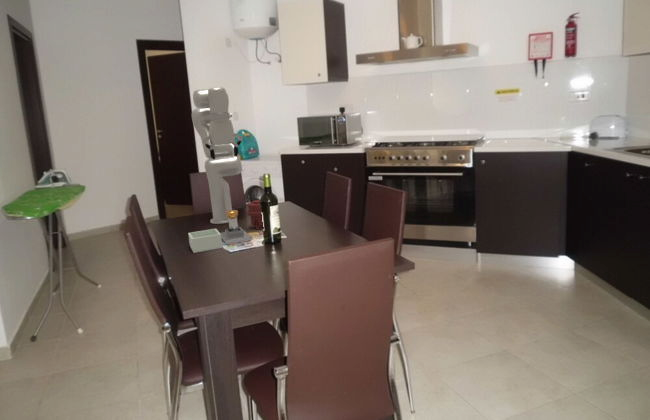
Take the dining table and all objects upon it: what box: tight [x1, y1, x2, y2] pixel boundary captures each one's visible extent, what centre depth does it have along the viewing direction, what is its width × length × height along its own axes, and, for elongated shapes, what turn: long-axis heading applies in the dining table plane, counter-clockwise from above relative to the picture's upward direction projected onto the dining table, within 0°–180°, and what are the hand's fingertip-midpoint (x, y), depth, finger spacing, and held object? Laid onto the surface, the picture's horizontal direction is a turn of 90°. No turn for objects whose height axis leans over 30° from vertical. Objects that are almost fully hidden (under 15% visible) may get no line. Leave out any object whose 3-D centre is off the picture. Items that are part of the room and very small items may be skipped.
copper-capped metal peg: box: [226, 209, 239, 232], centre depth 211 cm, size 5×5×10 cm
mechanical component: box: [246, 199, 264, 230], centre depth 228 cm, size 12×10×10 cm
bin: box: [187, 228, 223, 254], centre depth 203 cm, size 11×11×6 cm
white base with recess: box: [219, 226, 251, 245], centre depth 212 cm, size 14×10×4 cm
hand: (225, 157), depth 215 cm, fingers open, 9 cm apart
